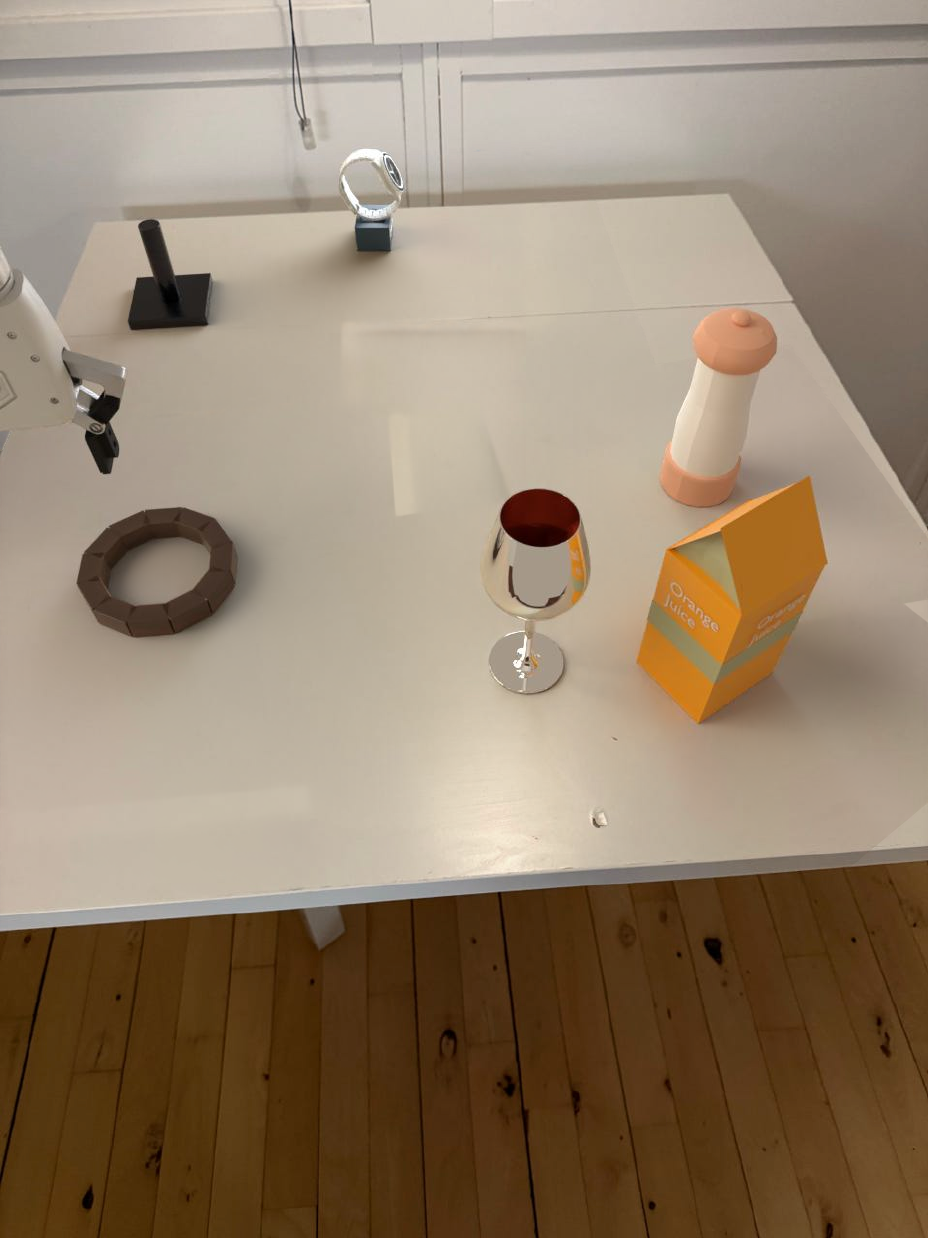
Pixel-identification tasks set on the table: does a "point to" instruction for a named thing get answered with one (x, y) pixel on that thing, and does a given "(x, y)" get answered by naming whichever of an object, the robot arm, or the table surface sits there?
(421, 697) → the table surface
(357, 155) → the watch
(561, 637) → the table surface
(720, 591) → the orange juice
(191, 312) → the post
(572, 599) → the wineglass
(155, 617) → the ring
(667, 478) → the pepper shaker
